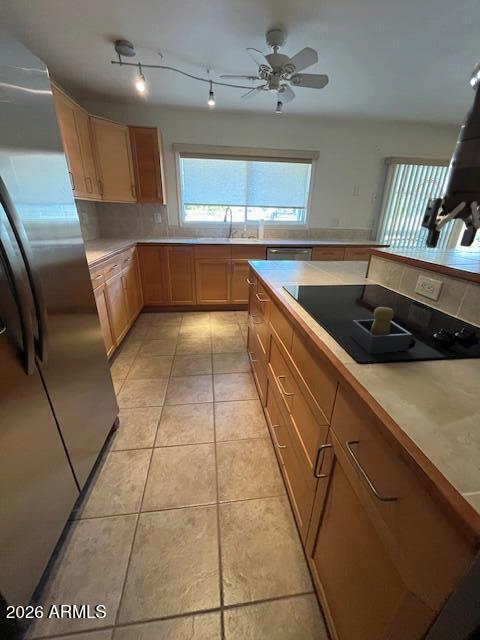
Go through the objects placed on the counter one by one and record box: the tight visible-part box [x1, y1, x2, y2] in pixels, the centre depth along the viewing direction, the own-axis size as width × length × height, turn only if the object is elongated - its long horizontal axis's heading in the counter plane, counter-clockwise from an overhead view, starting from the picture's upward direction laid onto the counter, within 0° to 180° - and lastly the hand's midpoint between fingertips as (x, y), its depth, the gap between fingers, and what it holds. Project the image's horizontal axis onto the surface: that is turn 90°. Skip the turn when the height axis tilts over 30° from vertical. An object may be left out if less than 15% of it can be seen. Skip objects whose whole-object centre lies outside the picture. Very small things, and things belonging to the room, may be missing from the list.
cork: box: [370, 306, 395, 336], centre depth 78 cm, size 6×6×11 cm
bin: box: [349, 318, 413, 355], centre depth 79 cm, size 12×12×6 cm
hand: (448, 246), depth 61 cm, fingers open, 8 cm apart
